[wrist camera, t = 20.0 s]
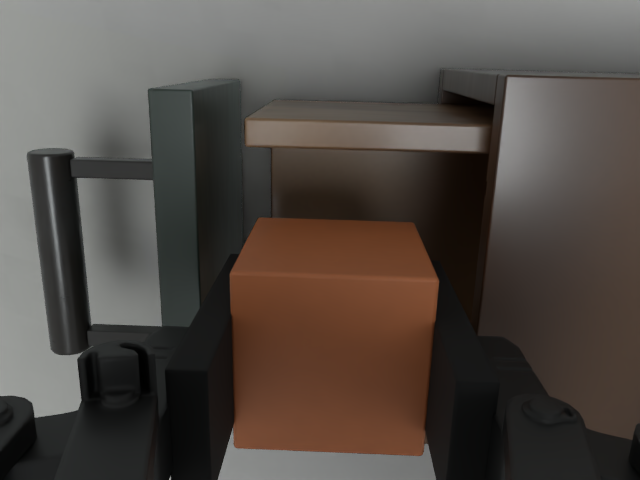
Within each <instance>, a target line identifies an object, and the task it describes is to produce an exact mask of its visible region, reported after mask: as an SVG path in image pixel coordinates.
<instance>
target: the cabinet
mask: <svg viewBox="0 0 640 480" xmlns="http://www.w3.org/2000/svg"><path fill="white" fill-rule="evenodd" d="M438 104H452V105H489V106H495V107H494V116H493V125H492V134H491V143H490V153H489V162H488V171H487V180H486V189H485V198H484V207H483V216H482V226H481V235H480V244H479V253H478V262H477V271H476V280H475V290H474V299H473V308H472V317H471V325H472V327H473V329H474V331H475V333H476V335H477V336H501V337H505V338H506V339H508V340H509V341H511V342H512V343H513V344H515V345H516V346H518V347H519V348H520V350H521V351H522V353H523V355H524V356H525V358H526V361H528V363H529V364H530V366H531V367H532V371H534V372H535V374H536V375H537V377H538V379H539V380H540V382H541V383H542V385H543V387H544V388H545V390H546V391H547V393H548V395H549V396H550V397H554V398H557V399H559V400H561V401H563V402H566V403H568V404H569V405H571V406H572V407H573V408H575V409H576V410H577V411H578V412H579V413H580V415H581V416H582V418H583V419H584V423H585V426H586V428H588V429H590V430H593V431H597V432H600V433H604V434H608V435H613V436H617V437H622V438H626V439H631V440H633V435H634V431H635V427H636V424H638V423H640V73H602V72H563V71H524V70H484V69H445V68H442V69H441V70H440V81H439V94H438Z"/></svg>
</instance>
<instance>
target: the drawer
mask: <svg viewBox="0 0 640 480" xmlns="http://www.w3.org/2000/svg"><path fill="white" fill-rule="evenodd" d="M148 100H149V117H150V133H151V150H152V159H135V158H101V157H76V158H75V156H74V152H73V151H72V150H69V149H62V148H48V149H37V150H32V151H30V152H28V153H27V161H28V169H29V177H30V185H31V193H32V201H33V209H34V217H35V225H36V234H37V242H38V250H39V258H40V266H41V274H42V282H43V290H44V298H45V306H46V314H47V322H48V330H49V339H50V347H51V350H52V351H53V352H54V353H56V354H59V355H73V354H78V353H81V352H84V351H86V350H87V349H89V348H90V347H91V346H96V345H99V344H102V343H105V342H110V341H117V340H136V341H140V342H144V341H145V339H146V338H147V336H148V335H150V334H151V333H153V332H154V331H156V330H158V329H159V328H161V326H133V325H106V324H93V325H92V326H91V316H90V306H89V296H88V286H87V276H86V266H85V256H84V246H83V236H82V226H81V216H80V206H79V196H78V186H77V178H104V179H137V180H153V182H154V199H155V215H156V232H157V248H158V265H159V281H160V298H161V314H162V327H163V326H180V327H189V326H190V324H191V323H192V321H193V319H194V317H195V315H196V314H197V312H198V310H199V308H200V307H201V305H202V303H203V301H204V300H205V298H206V296H207V294H208V293H209V291H210V289H211V287H212V285H213V284H214V282H215V280H216V278H217V277H218V275H219V273H220V271H221V270H222V268H223V266H224V264H225V263H226V261H227V259H228V257H229V255H230V254H240V252H241V250H242V248H243V224H242V159H241V95H240V80H232V79H208V80H201V81H195V82H188V83H182V84H175V85H169V86H162V87H156V88H150V89H148ZM494 107H495V106H489V105H452V104H415V103H378V102H340V101H303V100H273V101H272V102H270V103H269V104H267V105H265V106H264V107H262V108H261V109H259V110H258V111H256V112H254V113H253V114H251V115H250V116H248V117H246V118H245V120H244V134H245V146H247V147H262V148H271V218H294V219H325V220H357V221H388V222H412V223H414V224H415V227H416V229H417V231H418V233H419V236H420V238H421V240H422V243H423V245H424V247H425V249H426V252H427V254H428V256H429V259H430V260H437V261H440V263H441V265H442V267H443V269H444V271H445V273H446V275H447V277H448V279H449V281H450V283H451V285H452V287H453V289H454V291H455V293H456V295H457V297H458V299H459V301H460V303H461V305H462V307H463V309H464V311H465V313H466V315H467V317H468V319H469V321H470V323H471V317H472V308H473V299H474V290H475V280H476V271H477V262H478V253H479V244H480V235H481V226H482V216H483V207H484V198H485V189H486V180H487V171H488V162H489V153H490V143H491V134H492V125H493V116H494ZM424 444H428V441H427V437H426V432H425V443H424Z"/></svg>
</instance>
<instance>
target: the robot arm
mask: <svg viewBox="0 0 640 480" xmlns="http://www.w3.org/2000/svg"><path fill="white" fill-rule="evenodd" d="M238 256H239V254H230V255H229V257H228V259H227V261H226V263H225V264H224V266H223V268H222V270H221V271H220V273H219V275H218V277H217V278H216V280H215V282H214V284H213V285H212V287H211V289H210V291H209V293H208V294H207V296H206V298H205V300H204V301H203V303H202V305H201V307H200V308H199V310H198V312H197V314H196V315H195V317H194V319H193V321H192V323H191V324H190V326H189V327H180V326H163V327H161V328H159V329H158V330H156V331H154V332H153V333H151V334H150V335H148V336H147V338H146V339H145V341H144V342H140V341H136V340H117V341H110V342H105V343H102V344H99V345H96V346H93V347H91V348H90V349H88V350H86V351H84V352H83V353H82V354H81V355H80V357H79V358H78V359H77V362H78V371H79V380H80V389H81V399H82V401H81V404H80V407H79V410H77V411H74V412H69V413H64V414H58V415H51V416H45V417H38V418H35V417H34V410H33V406H32V403H31V402H30V401H28V400H27V399H25V398H22V397H16V396H0V480H169V478H170V475H171V480H218V476H219V473H220V469H221V466H222V463H223V459H224V456H225V452H226V449H227V445H228V442H229V439H230V435H231V432H232V428H233V425H234V398H233V355H232V315H231V311H230V272H231V270H232V268H233V266H234V264H235V262H236V260H237V258H238ZM430 261H431V263H432V265H433V268H434V270H435V272H436V275H437V277H438V279H439V289H438V300H437V311H436V321H435V327H434V338H433V349H432V360H431V371H430V382H429V393H428V404H427V415H426V426H425V432H426V437H427V441H428V445H429V450H430V454H431V458H432V463H433V467H434V471H435V476H436V480H640V423H638V424H636V427H635V431H634V435H633V440H631V439H626V438H622V437H617V436H613V435H608V434H604V433H600V432H597V431H593V430H590V429H588V428H586V426H585V423H584V419H583V418H582V416H581V415H580V413H579V412H578V411H577V410H576V409H575V408H573V407H572V406H571V405H569V404H568V403H566V402H563V401H561V400H559V399H557V398H554V397H550V396H549V395H548V393H547V391H546V390H545V388H544V387H543V385H542V383H541V382H540V380H539V379H538V377H537V375H536V374H535V372H534V371H532V367H531V366H530V364H529V363H528V361H526V358H525V356H524V355H523V353H522V351H521V350H520V348H519V347H518V346H516V345H515V344H513V343H512V342H511V341H509V340H508V339H506V338H505V337H501V336H477V335H476V333H475V331H474V329H473V327H472V325H471V323H470V321H469V319H468V317H467V315H466V313H465V311H464V309H463V307H462V305H461V303H460V301H459V299H458V297H457V295H456V293H455V291H454V289H453V287H452V285H451V283H450V281H449V279H448V277H447V275H446V273H445V271H444V269H443V267H442V265H441V263H440V261H437V260H430Z"/></svg>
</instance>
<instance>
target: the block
mask: <svg viewBox="0 0 640 480" xmlns="http://www.w3.org/2000/svg"><path fill="white" fill-rule="evenodd" d="M438 289H439V279H438V277H437V275H436V272H435V270H434V268H433V265H432V263H431V261H430V259H429V256H428V254H427V252H426V249H425V247H424V245H423V243H422V240H421V238H420V236H419V233H418V231H417V229H416V227H415V224H414V223H412V222H388V221H357V220H325V219H294V218H262V217H260V218H258V219H257V221H256V223H255V225H254V227H253V229H252V231H251V233H250V235H249V237H248V239H247V240H246V242H245V244H244V246H243V248H242V250H241V252H240V254H239V256H238V258H237V260H236V262H235V264H234V266H233V268H232V270H231V272H230V311H231V315H232V355H233V398H234V425H233V435H234V446H235V448H244V449H268V450H292V451H316V452H340V453H363V454H387V455H411V456H421V455H422V454H423V452H424V443H425V426H426V415H427V404H428V393H429V382H430V371H431V360H432V349H433V338H434V327H435V321H436V311H437V300H438Z"/></svg>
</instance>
